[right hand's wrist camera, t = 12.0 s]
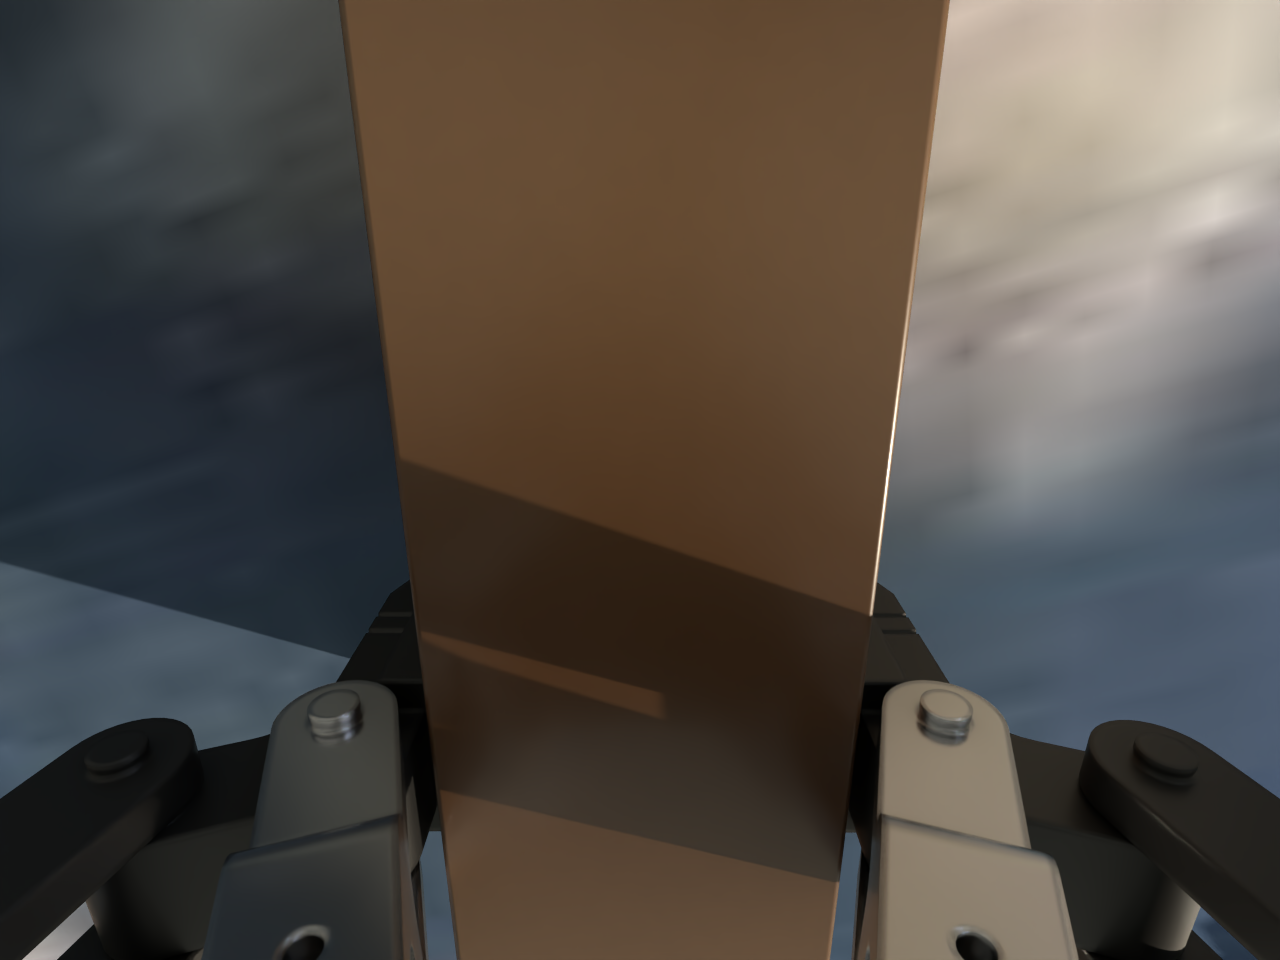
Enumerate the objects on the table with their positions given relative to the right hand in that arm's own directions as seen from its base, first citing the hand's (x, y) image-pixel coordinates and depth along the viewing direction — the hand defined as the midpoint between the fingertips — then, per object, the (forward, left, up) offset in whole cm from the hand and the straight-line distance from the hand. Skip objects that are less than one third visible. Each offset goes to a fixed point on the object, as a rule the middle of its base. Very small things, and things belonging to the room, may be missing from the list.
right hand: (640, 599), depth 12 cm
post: (+24, -27, -3) cm, 36 cm away
